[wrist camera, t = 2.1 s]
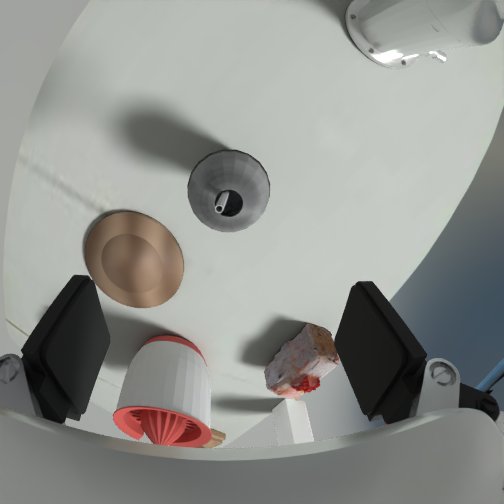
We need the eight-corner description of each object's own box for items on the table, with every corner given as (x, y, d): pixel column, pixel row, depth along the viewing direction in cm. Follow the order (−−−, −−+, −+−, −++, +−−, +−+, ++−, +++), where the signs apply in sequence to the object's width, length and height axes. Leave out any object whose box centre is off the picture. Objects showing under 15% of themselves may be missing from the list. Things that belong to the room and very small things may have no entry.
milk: (290, 412, 61) (305, 485, 42) (271, 409, 60) (283, 486, 40) (305, 400, 59) (323, 478, 40) (285, 397, 57) (301, 479, 38)
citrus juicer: (128, 368, 49) (107, 449, 32) (141, 313, 43) (110, 413, 25) (196, 389, 54) (193, 470, 36) (225, 341, 47) (228, 442, 29)
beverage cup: (216, 205, 36) (205, 296, 18) (190, 157, 32) (144, 202, 15) (266, 180, 35) (308, 250, 17) (242, 131, 31) (259, 141, 14)
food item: (291, 372, 53) (300, 411, 44) (259, 363, 51) (265, 404, 42) (333, 330, 48) (350, 369, 40) (301, 317, 46) (315, 359, 37)
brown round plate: (182, 211, 36) (180, 214, 35) (186, 306, 43) (186, 311, 42) (80, 212, 34) (76, 214, 33) (98, 300, 41) (96, 304, 40)
